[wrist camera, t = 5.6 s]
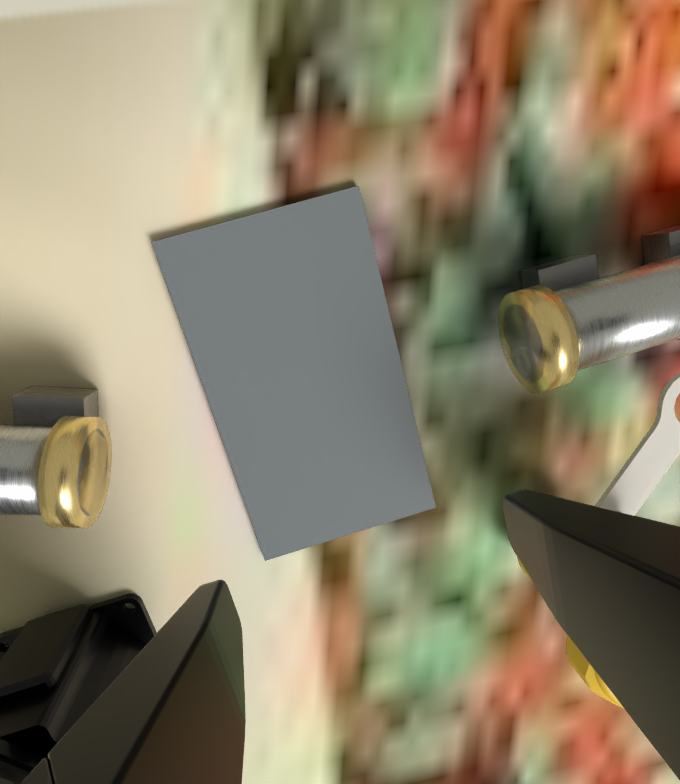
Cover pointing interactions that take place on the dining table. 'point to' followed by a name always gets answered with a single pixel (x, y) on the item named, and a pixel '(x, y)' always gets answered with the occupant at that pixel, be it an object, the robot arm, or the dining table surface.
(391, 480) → the seat mat
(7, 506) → the shaft
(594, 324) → the shaft
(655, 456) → the pressure relief valve
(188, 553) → the dining table surface
